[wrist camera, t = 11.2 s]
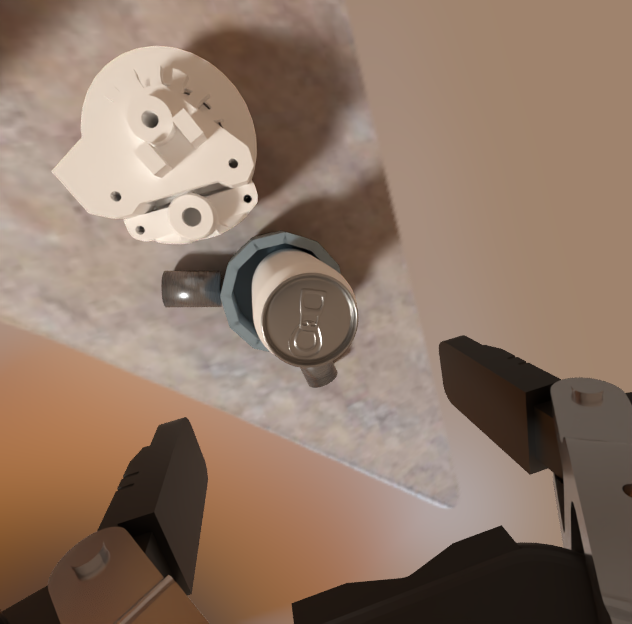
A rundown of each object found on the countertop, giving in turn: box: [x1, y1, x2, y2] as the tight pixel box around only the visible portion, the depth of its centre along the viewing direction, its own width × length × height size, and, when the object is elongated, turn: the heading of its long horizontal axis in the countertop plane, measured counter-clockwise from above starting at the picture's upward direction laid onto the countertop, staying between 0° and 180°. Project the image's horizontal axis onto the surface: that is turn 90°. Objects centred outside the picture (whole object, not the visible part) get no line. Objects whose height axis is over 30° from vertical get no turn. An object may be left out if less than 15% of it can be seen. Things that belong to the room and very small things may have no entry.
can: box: [252, 248, 358, 368], centre depth 26 cm, size 6×6×12 cm
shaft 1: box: [162, 271, 222, 307], centre depth 30 cm, size 4×3×3 cm
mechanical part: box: [52, 46, 258, 244], centre depth 23 cm, size 11×12×12 cm
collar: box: [220, 231, 341, 352], centre depth 30 cm, size 10×10×4 cm
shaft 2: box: [300, 361, 337, 388], centre depth 33 cm, size 4×3×3 cm
